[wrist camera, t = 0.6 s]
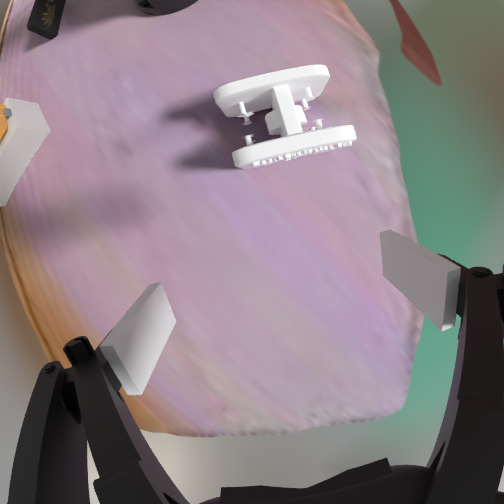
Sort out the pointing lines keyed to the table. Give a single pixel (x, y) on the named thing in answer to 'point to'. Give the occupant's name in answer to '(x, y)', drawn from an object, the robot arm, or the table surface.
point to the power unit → (19, 142)
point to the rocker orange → (2, 121)
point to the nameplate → (46, 17)
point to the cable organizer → (281, 115)
